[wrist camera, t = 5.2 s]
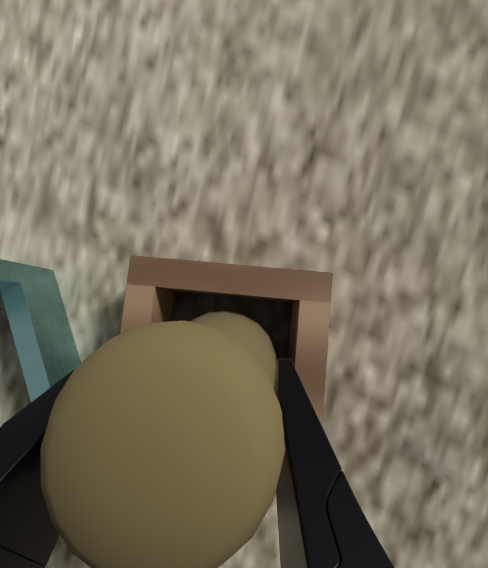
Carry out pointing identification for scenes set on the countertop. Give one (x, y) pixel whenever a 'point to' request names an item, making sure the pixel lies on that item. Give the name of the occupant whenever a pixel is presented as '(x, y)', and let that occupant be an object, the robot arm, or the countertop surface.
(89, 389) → the cork
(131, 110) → the countertop surface
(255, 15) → the countertop surface
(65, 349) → the frame
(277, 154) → the countertop surface
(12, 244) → the countertop surface
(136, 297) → the walnut socket
